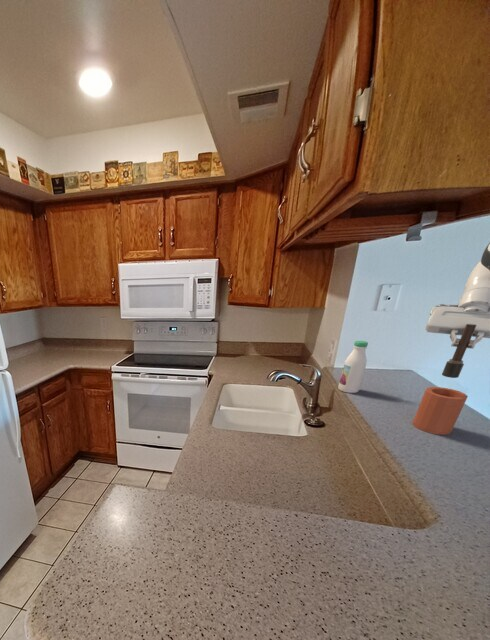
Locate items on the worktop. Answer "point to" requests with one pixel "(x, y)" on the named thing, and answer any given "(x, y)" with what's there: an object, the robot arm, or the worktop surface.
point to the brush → (459, 353)
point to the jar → (439, 410)
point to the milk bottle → (354, 368)
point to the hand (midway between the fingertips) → (462, 346)
